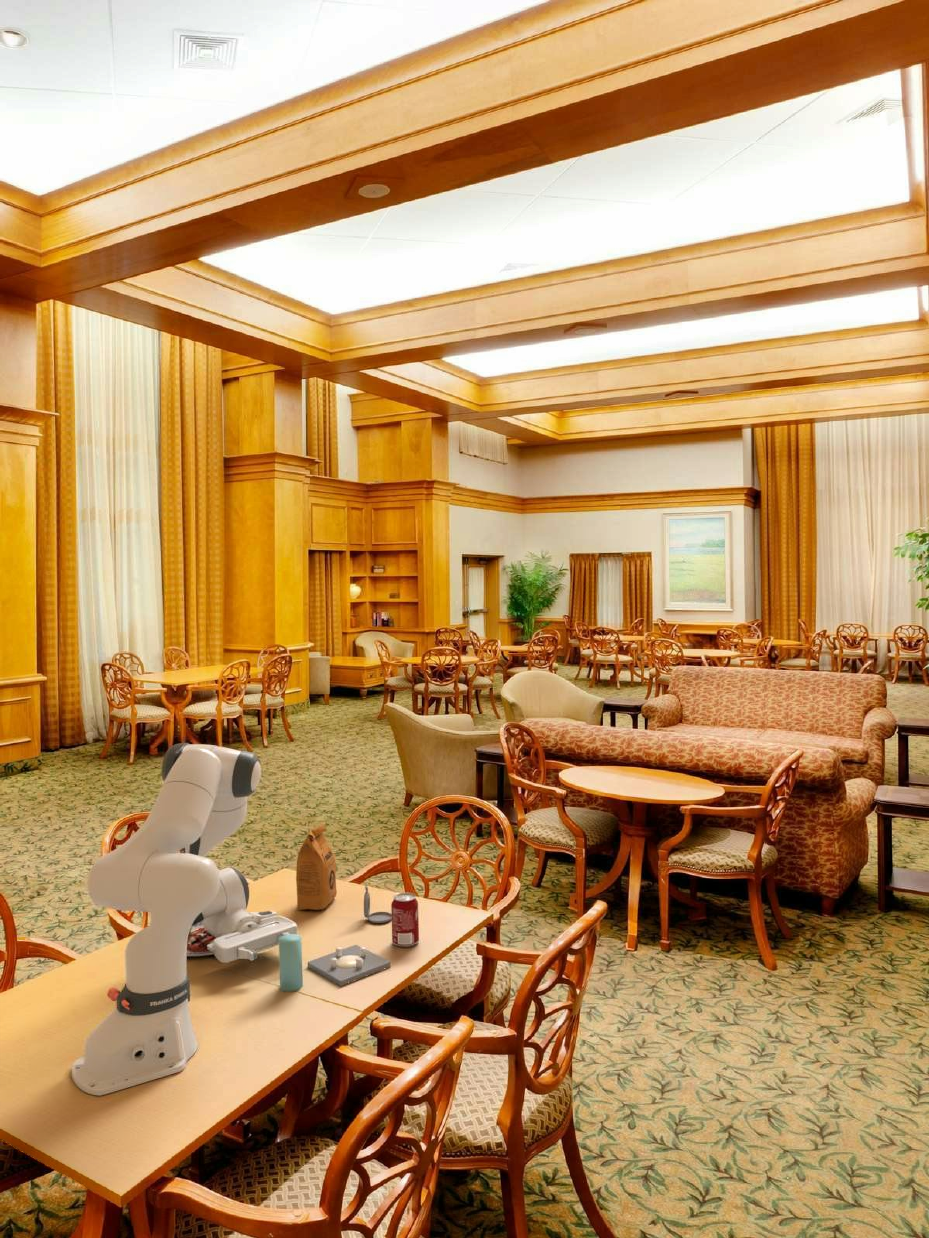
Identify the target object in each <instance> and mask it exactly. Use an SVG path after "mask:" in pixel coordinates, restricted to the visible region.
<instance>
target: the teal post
mask: <svg viewBox="0 0 929 1238" xmlns="http://www.w3.org/2000/svg"><path fill="white" fill-rule="evenodd" d="M302 939H303V938H302V935H300V934H298V933H297V934H288V935H284V936H282V937H280V938H279V945H278V955H279V987H280V990H281V989H282V990H283V991H282V990H281V991H282V992H286V991H287V992H288V991H292V992H295V990H297V991H299V990H300V988H301V987H302V988H303V987H304V982H303V981H304V979H303V976H304V975H303V947H302V946H303V944H302V943H303V942H302ZM302 988H301V989H302ZM298 989H299V990H298ZM287 992H286V993H287ZM288 993H289V992H288Z"/></svg>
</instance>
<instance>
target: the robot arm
mask: <svg viewBox="0 0 929 1238" xmlns="http://www.w3.org/2000/svg"><path fill="white" fill-rule="evenodd" d="M162 759H163V760H162V764H161V777H162V780H163V783H162V786H161V789H160V791H159V793H158V795H157V797H156V800H155V801H154V805H152V808H151V810H150V812H149V814H148V816H147V818H146V819H145V821H144V822H143V824H141V826H140V827H139V829H137V831H136V832H135V833H134V834H133V835H131V837H129V838H128V839H127V840H126V841H125V842H124V843H122V844H121V845H119V847H116V848H115V849H114V850H112V851H110V852H108V853H106V854H104V855H102V856H100V857H99V858H98V859H97V860H95V862H94V864H93V865H92V867H91V868H90V871H89V873H88V876H87V881H86V889H87V892H88V893H87V894H88V896H89V898H90V899H91V901H92V902H93V903H94V904H95V905H97V906H101V907H104V908H107V909H111V910H115V911H126V912H127V911H130V912H131V911H132V912H147V913H149V914H150V925H148V926H145V927H144V928H142V929H141V930H139V931H137V932H136V933H135V934H134V935H133V936H132V937H131V938H130V939H129V940H128V943H127V945H126V947H125V950H124V954H125V984H124V986H123V987H122V989H121V991H120V990H119V989H118V988H117V987H114V986H113V987H110V988H109V989H108V991H107V994H106V995H107V997H108V999H110V1000H111V1001H112V1002H115V1003H116V1004H115V1005H116V1007H115V1008H114V1009H113V1010H112V1011H111V1012H110V1013H109V1014H108V1016H106V1018H104V1019H103V1020H102V1021H101V1022H100V1023H99V1024H98V1025H97V1026H96V1027H95V1028H94V1029H93V1030H92V1031H91V1032H90V1033H89V1035H88V1036H87V1040H86V1043H85V1048H84V1054H83V1055H84V1056H82V1057H80V1058H78V1059H76V1060H75V1061H74V1062H73V1063H72V1065H71V1066H72V1067H71V1071H70V1072H71V1078H72V1081H73V1082H74V1084H75V1085H76V1086H77V1087H78V1088H79V1089H80V1090H81V1091H83V1092H84V1093H86V1094H89V1095H93V1096H99V1097H100V1096H104V1095H108V1094H110V1093H114V1092H117V1091H120V1090H124V1089H127V1088H130V1087H133V1086H137V1085H141V1084H144V1083H148V1082H150V1081H153V1080H157V1079H160V1078H163V1077H166V1076H170V1075H173V1074H176V1073H180V1072H181V1071H184V1070H185V1068H186V1065H187V1062H188V1060H190V1058H191V1057H193V1055H194V1054H195V1052H196V1051H197V1049H198V1047H199V1043H198V1040H197V1038H196V1035H195V1032H194V1028H193V1023H192V1018H191V1011H190V1000H191V995H190V994H191V985H190V984H191V983H190V976H189V973H188V971H187V970H188V969H187V968H188V967H187V963H188V961H187V957H188V956H187V952H188V950H187V939H188V934H189V931H190V928H191V926H194V925H195V924H197V923H199V922H201V921H202V924H203V926H204V927H205V929H206V930H207V931H208V932H209V933H210V934H211V935H212V936H213V937H215V938H216V939H215V940H214V941H211V942H210V944H208V945H207V949H208V950H210V951H212V952H214V954H213V955H214V957H215V958H216V959H217V960H218V961H219V962H221V963H224V964H225V963H226V964H228V963H230V962H233V961H237V960H239V959H243V960H249V961H254V960H257V959H258V953H259V952H263V951H266V950H269V949H271V948H274V947H277V946H279V938H280V937H282V936H284V935H288V934H298V925H297V922H295V921H293V920H292V919H290V918H288V917H286V916H283V915H278V914H277V912H276V911H275V910H267V911H259V912H258V911H257V912H255V911H249V912H248V911H246V910H247V908H248V906H249V902H250V900H249V899H250V888H249V884H248V883H249V882H248V880H247V879H246V877H245V875H244V874H243V873H241V872H240V871H239V870H237V869H236V868H234V867H231V866H227V867H225V868H222V869H220V870H219V869H218V867H217V865H216V863H215V861H214V860H213V859H212V858H209V857H206V856H207V855H208V853H210V851H212V849H214V848H215V847H216V846H218V845H219V844H220V843H221V842H223V841H224V840H226V839H227V838H229V837H230V836H233V834H234V833H236V832H237V831H238V830H239V829H240V827H241V826H242V825H243V824H244V822H245V819H246V816H247V813H248V797H249V796H251V795H252V794H253V793H254V792H256V790H257V788H258V785H259V784H260V781H261V777H262V767H261V761H260V759H259V757H258V756H257V754H256V753H253V752H250V751H247V750H242V751H241V750H237V749H235V748H234V749H233V748H229V747H224V746H219V745H216V744H215V745H214V744H213V745H212V744H201V743H199V744H195V743H194V744H190V743H189V742H182V743H175V744H174V745H172V746H171V747H169V748H168V749H167V751H166V752H165V754H164V756H163V758H162ZM179 851H180V852H179Z"/></svg>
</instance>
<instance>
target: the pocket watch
mask: <svg viewBox="0 0 929 1238" xmlns="http://www.w3.org/2000/svg"><path fill="white" fill-rule="evenodd" d="M364 889H365V892H364V896H363V915H364V918H367V920H368V922H371V923H372V924H384V923H387V922H388V923H389V921H392V912H387V911H378V912H377V911H376V912H373V913H371V895H370V893H369V888H368V884H367V883H364Z"/></svg>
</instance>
